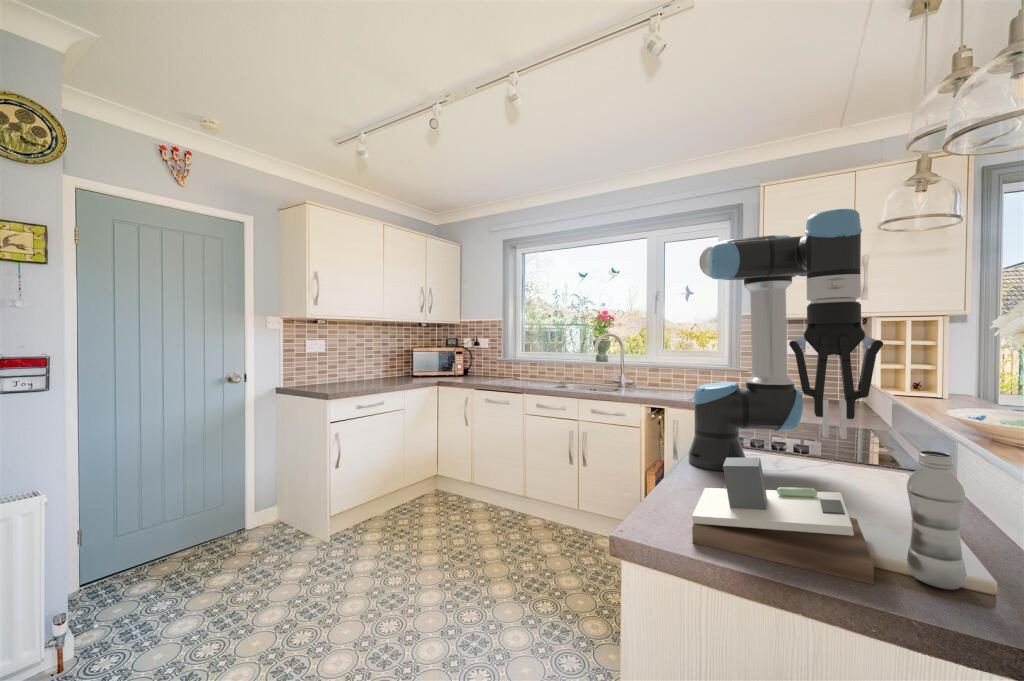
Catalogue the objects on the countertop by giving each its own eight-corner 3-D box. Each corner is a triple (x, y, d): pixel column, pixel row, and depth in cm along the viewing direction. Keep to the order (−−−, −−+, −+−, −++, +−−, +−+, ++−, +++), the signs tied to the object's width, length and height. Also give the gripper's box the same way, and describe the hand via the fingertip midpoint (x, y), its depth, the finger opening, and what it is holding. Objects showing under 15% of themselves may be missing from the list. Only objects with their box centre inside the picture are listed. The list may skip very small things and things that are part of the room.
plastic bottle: (977, 590, 63) (977, 457, 63) (948, 600, 61) (948, 462, 61) (924, 567, 70) (924, 446, 69) (896, 576, 68) (895, 450, 67)
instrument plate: (706, 494, 94) (698, 451, 94) (842, 499, 81) (832, 450, 81) (693, 523, 80) (685, 473, 81) (854, 535, 67) (843, 475, 68)
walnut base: (706, 507, 95) (706, 493, 95) (856, 534, 81) (856, 518, 81) (692, 543, 79) (692, 526, 79) (873, 584, 66) (873, 563, 65)
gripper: (782, 303, 75) (784, 436, 76) (894, 298, 67) (894, 446, 68) (782, 304, 81) (783, 427, 82) (884, 300, 73) (885, 436, 74)
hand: (834, 436), depth 75 cm, fingers closed
